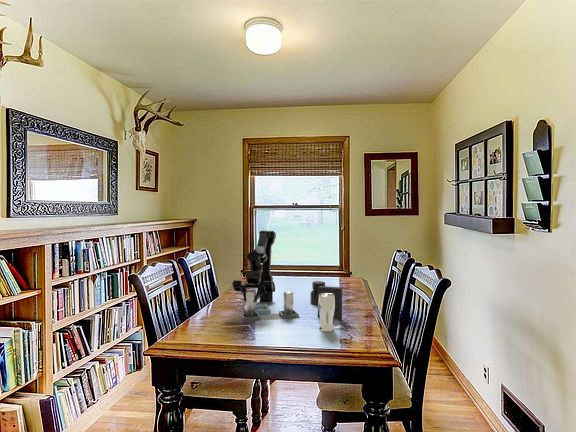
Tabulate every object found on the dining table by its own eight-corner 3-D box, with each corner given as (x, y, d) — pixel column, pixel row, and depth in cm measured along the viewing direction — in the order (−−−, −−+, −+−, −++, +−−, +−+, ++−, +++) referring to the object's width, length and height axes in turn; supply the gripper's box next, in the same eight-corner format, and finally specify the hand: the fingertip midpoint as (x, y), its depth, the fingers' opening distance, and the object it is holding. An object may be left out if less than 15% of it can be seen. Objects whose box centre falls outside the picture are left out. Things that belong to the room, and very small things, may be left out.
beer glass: (317, 327, 177) (317, 292, 177) (333, 327, 178) (333, 292, 178) (319, 332, 170) (319, 296, 170) (336, 331, 171) (336, 296, 171)
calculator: (342, 319, 191) (342, 286, 190) (340, 321, 187) (340, 288, 186) (319, 317, 194) (319, 285, 194) (317, 319, 190) (317, 287, 190)
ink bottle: (331, 304, 218) (331, 282, 218) (320, 307, 212) (320, 284, 212) (316, 301, 225) (316, 280, 225) (306, 304, 219) (306, 282, 218)
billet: (292, 314, 195) (291, 291, 195) (294, 316, 191) (294, 293, 191) (282, 314, 194) (282, 291, 194) (285, 317, 190) (285, 293, 190)
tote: (266, 309, 208) (266, 304, 208) (270, 315, 197) (270, 309, 197) (244, 311, 205) (244, 305, 205) (247, 316, 194) (247, 311, 194)
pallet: (295, 314, 199) (295, 309, 199) (300, 320, 189) (300, 314, 189) (239, 318, 192) (239, 312, 192) (242, 324, 182) (242, 318, 182)
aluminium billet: (254, 313, 191) (254, 290, 191) (256, 316, 187) (256, 292, 186) (245, 314, 190) (245, 290, 190) (246, 316, 186) (246, 292, 185)
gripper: (233, 263, 193) (226, 291, 182) (272, 263, 190) (267, 292, 180) (237, 276, 201) (231, 304, 190) (275, 277, 198) (271, 306, 188)
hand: (249, 301), depth 187 cm, fingers closed on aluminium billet, 4 cm apart
